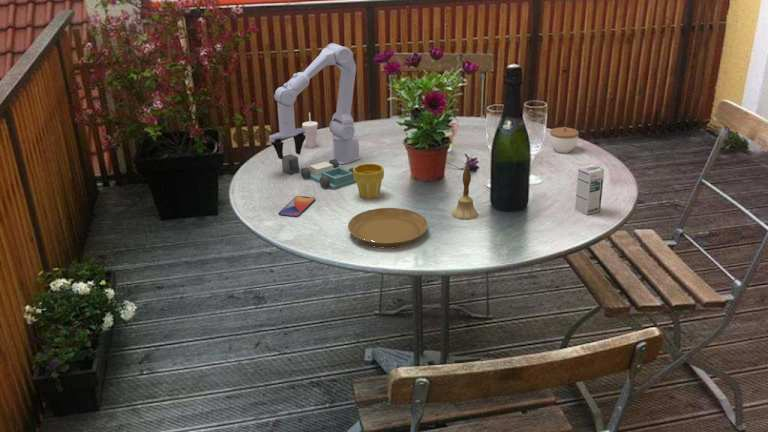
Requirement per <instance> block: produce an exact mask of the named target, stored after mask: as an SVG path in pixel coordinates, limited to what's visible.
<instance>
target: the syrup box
mask: <svg viewBox="0 0 768 432" xmlns="http://www.w3.org/2000/svg"><path fill="white" fill-rule="evenodd" d="M604 174H605V169H604V168H602V167H600V166H598V165H595V164H589V165H585V166H581V167H578V168H577V178H576V179H577V180H576V191H575V204H574V209H575V210H577V211H578V212H580V213H582V214H584V215H586V216H587V215H591V214H594V213H599V212H601V209H602V208H601V207H602V197H603V196H602V195H603V189H604V188H603V185H604V176H605V175H604Z"/></svg>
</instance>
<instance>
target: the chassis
mask: <svg viewBox="0 0 768 432" xmlns="http://www.w3.org/2000/svg"><path fill="white" fill-rule="evenodd" d="M339 165H340V164H338V161H337V160H336V159H332V160H330V159H329V161H322V162H318V163H314V164H312V165H309V167H307V166H305V167H302V168H300V175H301V177H302V178H303V179H304V180H307V179H310V180H312V181H314V182H316V183H318V184H320V186H321V188H322V189H326V188H328V189H331V190H332V191H335V190H338V189H340V188H344V187H347V186H351V185H353V184H357V183H356V181H355V180H354V175H353V169H354V167H355V166H354V167H350V168H349V169H345V168H343V167H341V166H339Z"/></svg>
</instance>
